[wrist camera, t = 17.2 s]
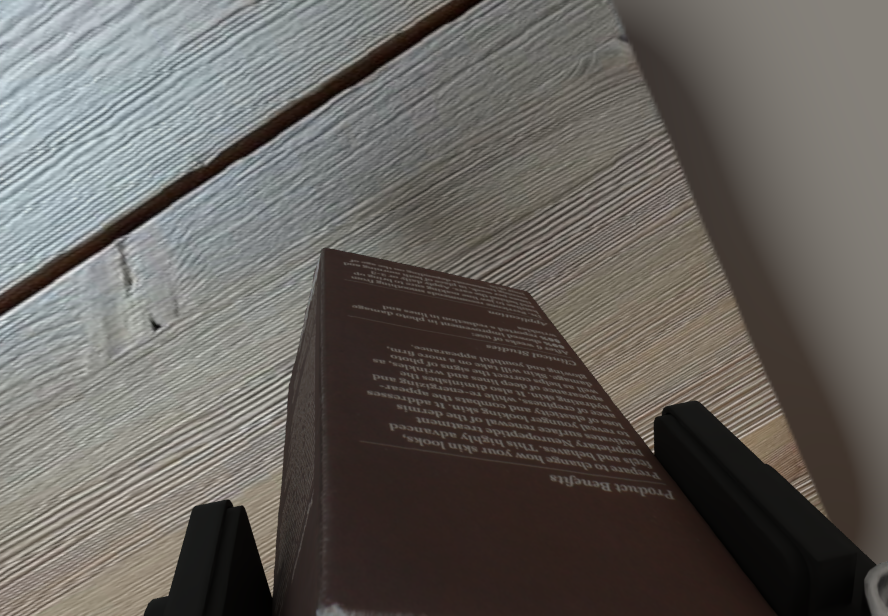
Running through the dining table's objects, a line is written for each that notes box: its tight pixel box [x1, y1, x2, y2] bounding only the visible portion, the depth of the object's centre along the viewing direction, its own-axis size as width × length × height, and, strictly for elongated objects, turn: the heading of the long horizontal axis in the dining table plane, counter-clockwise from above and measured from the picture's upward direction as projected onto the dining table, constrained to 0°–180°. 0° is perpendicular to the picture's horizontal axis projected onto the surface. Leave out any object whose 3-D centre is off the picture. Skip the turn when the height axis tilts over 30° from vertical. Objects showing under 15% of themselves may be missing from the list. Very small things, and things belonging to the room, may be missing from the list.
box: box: [272, 248, 778, 616], centre depth 13 cm, size 6×4×12 cm
